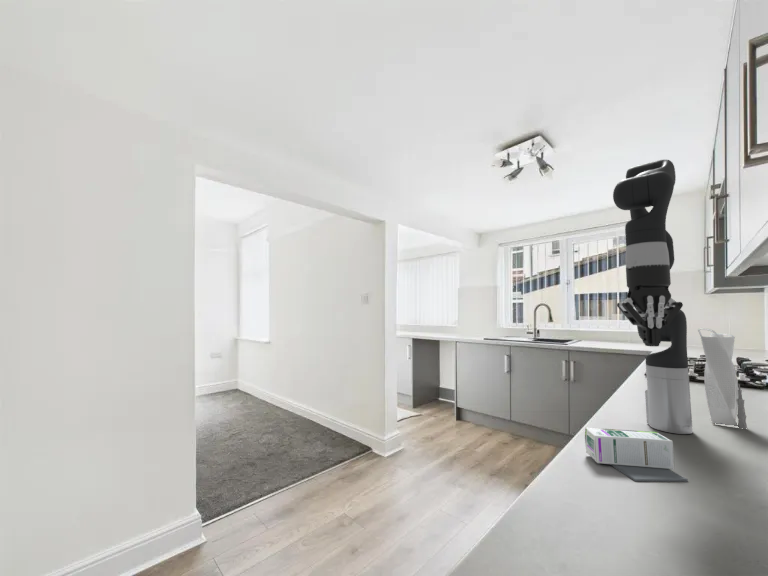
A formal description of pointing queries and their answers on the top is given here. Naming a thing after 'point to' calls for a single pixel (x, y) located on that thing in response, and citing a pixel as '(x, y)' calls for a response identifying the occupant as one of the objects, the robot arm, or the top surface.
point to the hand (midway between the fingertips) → (651, 345)
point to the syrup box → (629, 448)
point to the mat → (649, 473)
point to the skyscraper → (722, 380)
